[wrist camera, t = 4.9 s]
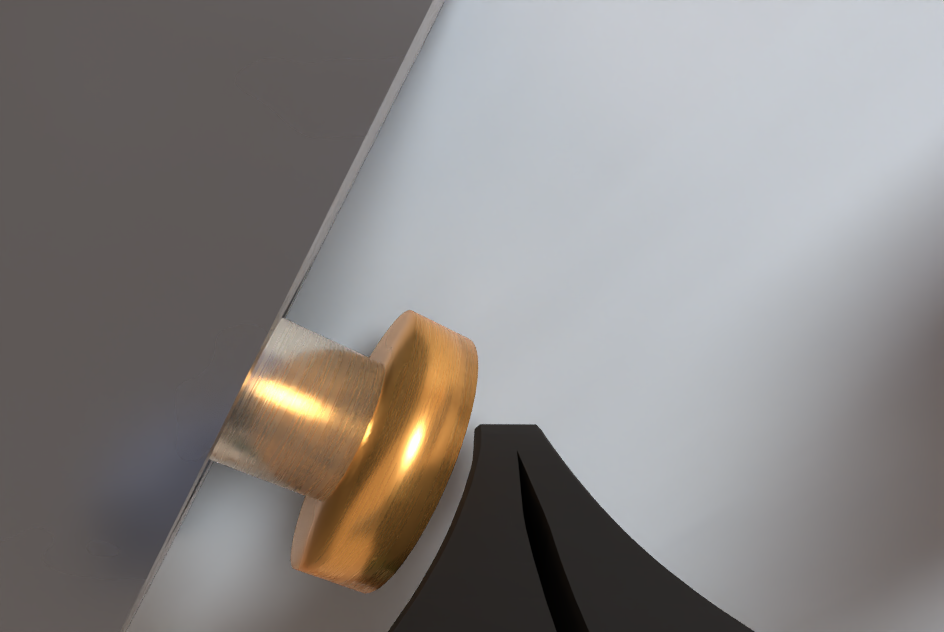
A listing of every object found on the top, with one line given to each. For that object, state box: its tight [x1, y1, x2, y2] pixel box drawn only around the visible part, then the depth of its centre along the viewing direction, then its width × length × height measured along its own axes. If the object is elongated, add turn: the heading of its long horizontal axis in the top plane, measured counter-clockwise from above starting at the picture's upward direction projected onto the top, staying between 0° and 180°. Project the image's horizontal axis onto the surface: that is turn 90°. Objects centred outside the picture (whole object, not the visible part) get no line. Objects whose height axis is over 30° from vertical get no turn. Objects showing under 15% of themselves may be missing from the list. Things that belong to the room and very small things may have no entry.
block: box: [0, 0, 445, 632], centre depth 9 cm, size 6×16×7 cm, turn 149°
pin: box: [209, 310, 478, 593], centre depth 9 cm, size 10×5×5 cm, turn 60°
